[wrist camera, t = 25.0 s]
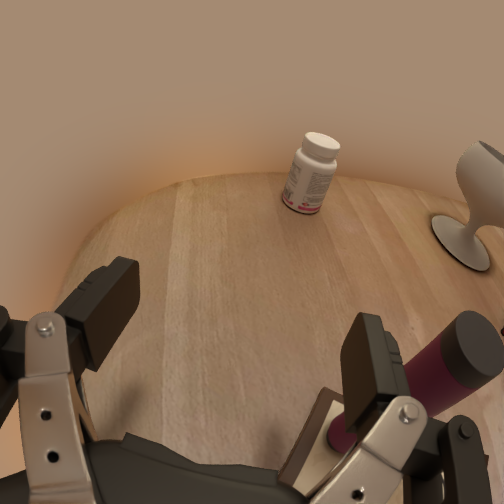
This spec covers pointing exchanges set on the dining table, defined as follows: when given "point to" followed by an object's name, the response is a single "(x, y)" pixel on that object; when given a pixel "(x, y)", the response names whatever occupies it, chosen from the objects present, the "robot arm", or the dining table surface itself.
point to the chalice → (475, 204)
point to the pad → (322, 449)
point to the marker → (444, 370)
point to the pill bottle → (311, 173)
